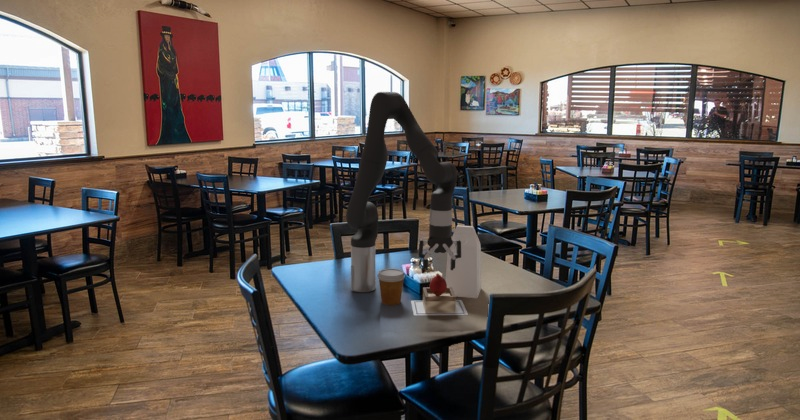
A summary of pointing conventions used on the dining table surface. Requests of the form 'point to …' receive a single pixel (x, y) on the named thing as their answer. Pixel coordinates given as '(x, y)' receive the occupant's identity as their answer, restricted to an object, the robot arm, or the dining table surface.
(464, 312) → the board
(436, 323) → the dining table surface
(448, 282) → the milk
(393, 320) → the dining table surface
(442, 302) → the square wooden tray
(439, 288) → the red round fruit
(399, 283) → the disposable coffee cup
